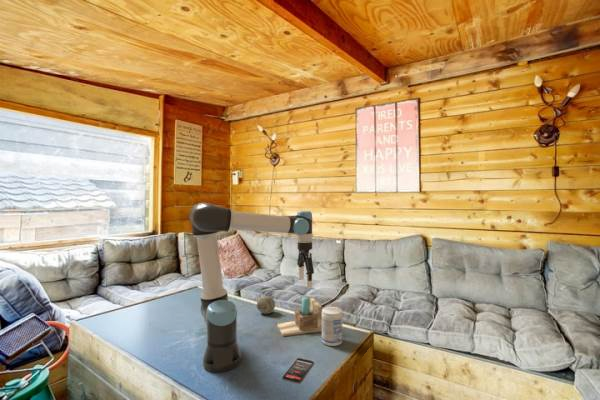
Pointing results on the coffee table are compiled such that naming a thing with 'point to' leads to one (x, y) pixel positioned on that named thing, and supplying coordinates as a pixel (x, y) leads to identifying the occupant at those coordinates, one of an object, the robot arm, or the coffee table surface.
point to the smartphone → (298, 370)
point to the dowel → (305, 306)
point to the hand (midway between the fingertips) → (305, 283)
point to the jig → (293, 329)
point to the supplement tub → (332, 326)
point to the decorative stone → (265, 304)
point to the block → (305, 320)
